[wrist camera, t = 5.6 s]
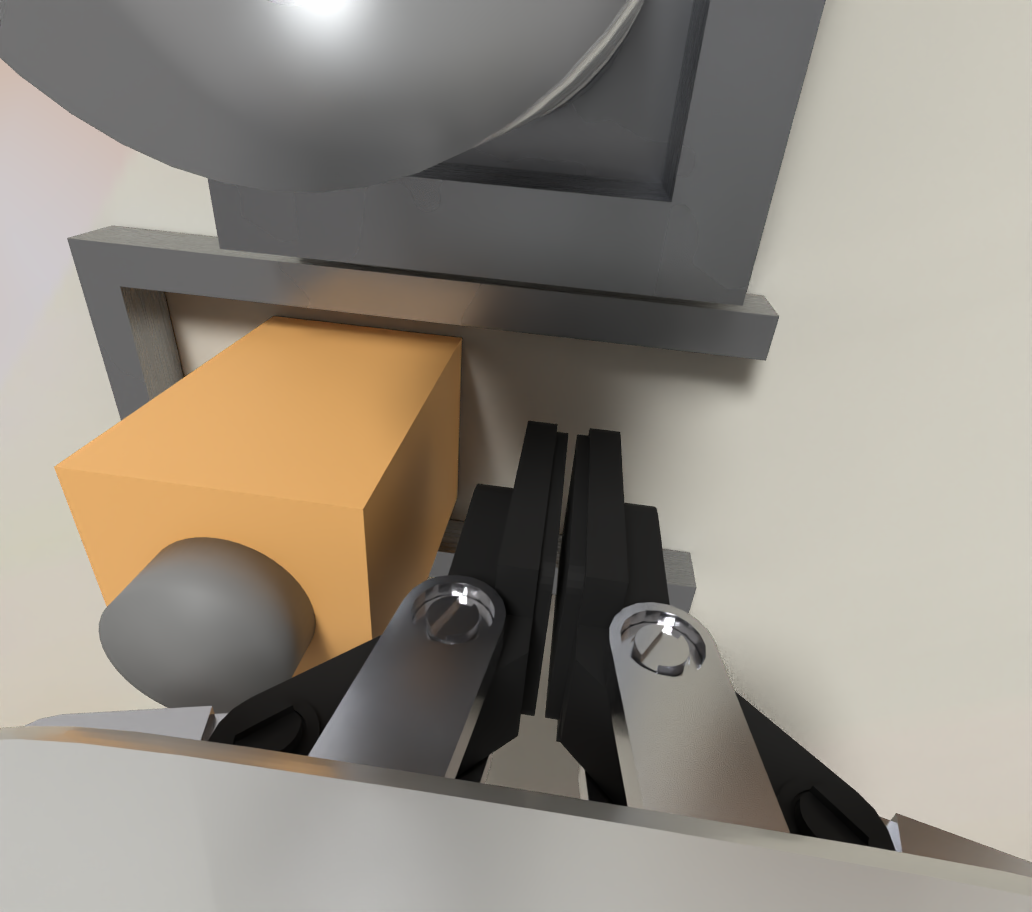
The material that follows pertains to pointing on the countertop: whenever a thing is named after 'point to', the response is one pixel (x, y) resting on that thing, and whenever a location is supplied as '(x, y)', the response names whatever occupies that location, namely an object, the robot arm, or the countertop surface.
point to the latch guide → (380, 292)
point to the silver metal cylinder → (311, 78)
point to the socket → (588, 172)
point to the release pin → (269, 506)
